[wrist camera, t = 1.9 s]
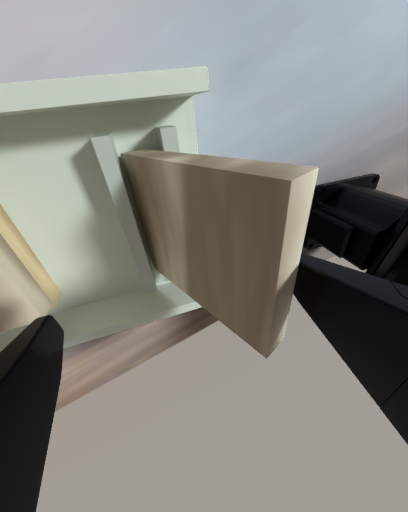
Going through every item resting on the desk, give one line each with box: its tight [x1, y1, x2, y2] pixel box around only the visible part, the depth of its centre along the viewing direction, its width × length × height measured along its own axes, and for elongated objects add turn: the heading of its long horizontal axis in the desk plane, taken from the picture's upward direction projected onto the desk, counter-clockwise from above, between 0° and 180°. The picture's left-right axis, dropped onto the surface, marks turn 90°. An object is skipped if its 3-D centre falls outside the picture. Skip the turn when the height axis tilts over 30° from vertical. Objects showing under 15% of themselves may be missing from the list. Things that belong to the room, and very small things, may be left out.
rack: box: [0, 66, 209, 352], centre depth 13 cm, size 18×14×4 cm
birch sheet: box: [120, 149, 319, 358], centre depth 11 cm, size 1×8×10 cm, turn 6°
